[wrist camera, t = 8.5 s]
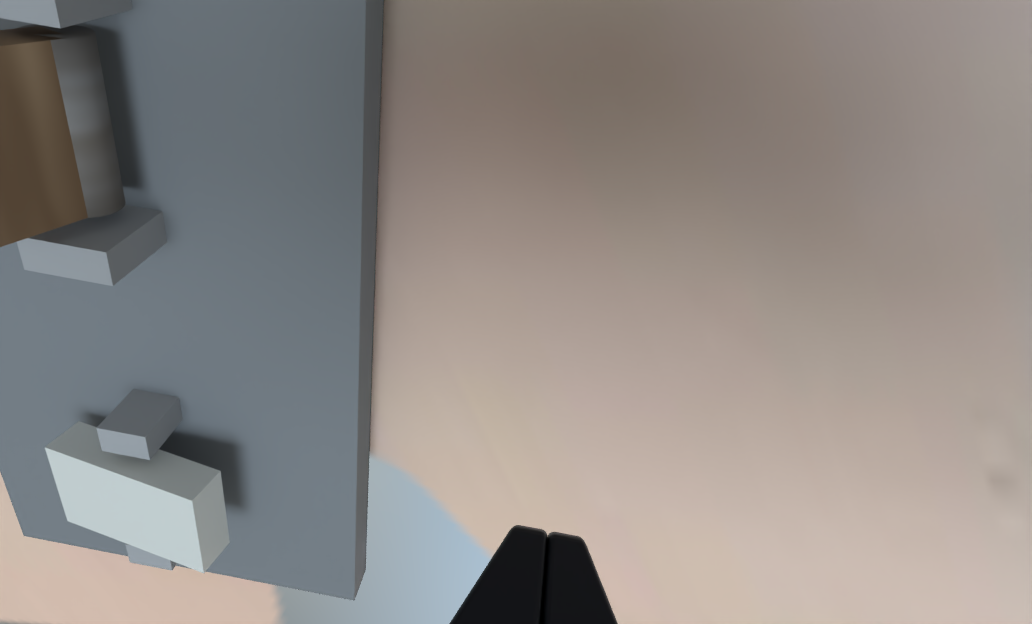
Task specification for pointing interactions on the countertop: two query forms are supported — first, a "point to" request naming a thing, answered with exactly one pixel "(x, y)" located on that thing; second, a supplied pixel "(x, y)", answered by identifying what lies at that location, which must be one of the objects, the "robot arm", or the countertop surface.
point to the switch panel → (214, 279)
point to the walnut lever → (54, 132)
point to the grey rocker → (141, 498)
